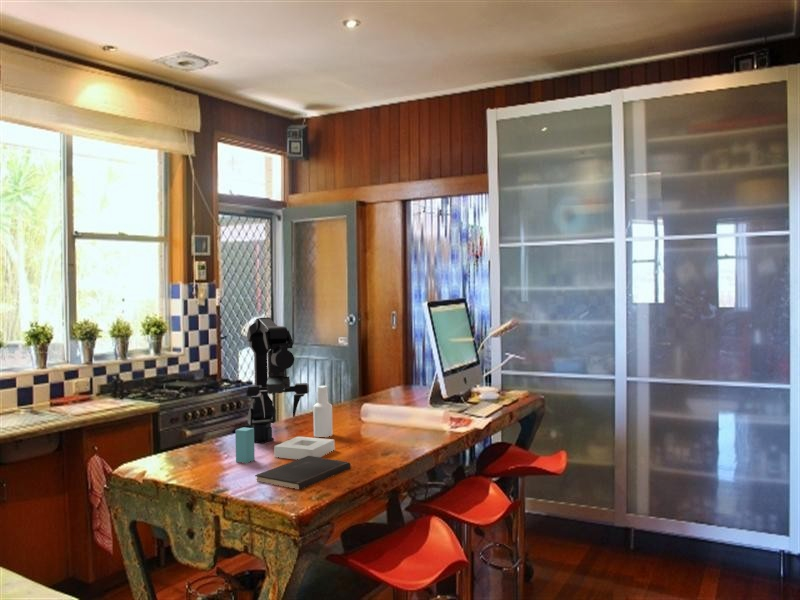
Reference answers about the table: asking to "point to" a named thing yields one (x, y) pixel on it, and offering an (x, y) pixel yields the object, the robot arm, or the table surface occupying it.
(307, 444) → the socket block
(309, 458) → the hardcover book
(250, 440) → the peg
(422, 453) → the table surface
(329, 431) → the white bottle
